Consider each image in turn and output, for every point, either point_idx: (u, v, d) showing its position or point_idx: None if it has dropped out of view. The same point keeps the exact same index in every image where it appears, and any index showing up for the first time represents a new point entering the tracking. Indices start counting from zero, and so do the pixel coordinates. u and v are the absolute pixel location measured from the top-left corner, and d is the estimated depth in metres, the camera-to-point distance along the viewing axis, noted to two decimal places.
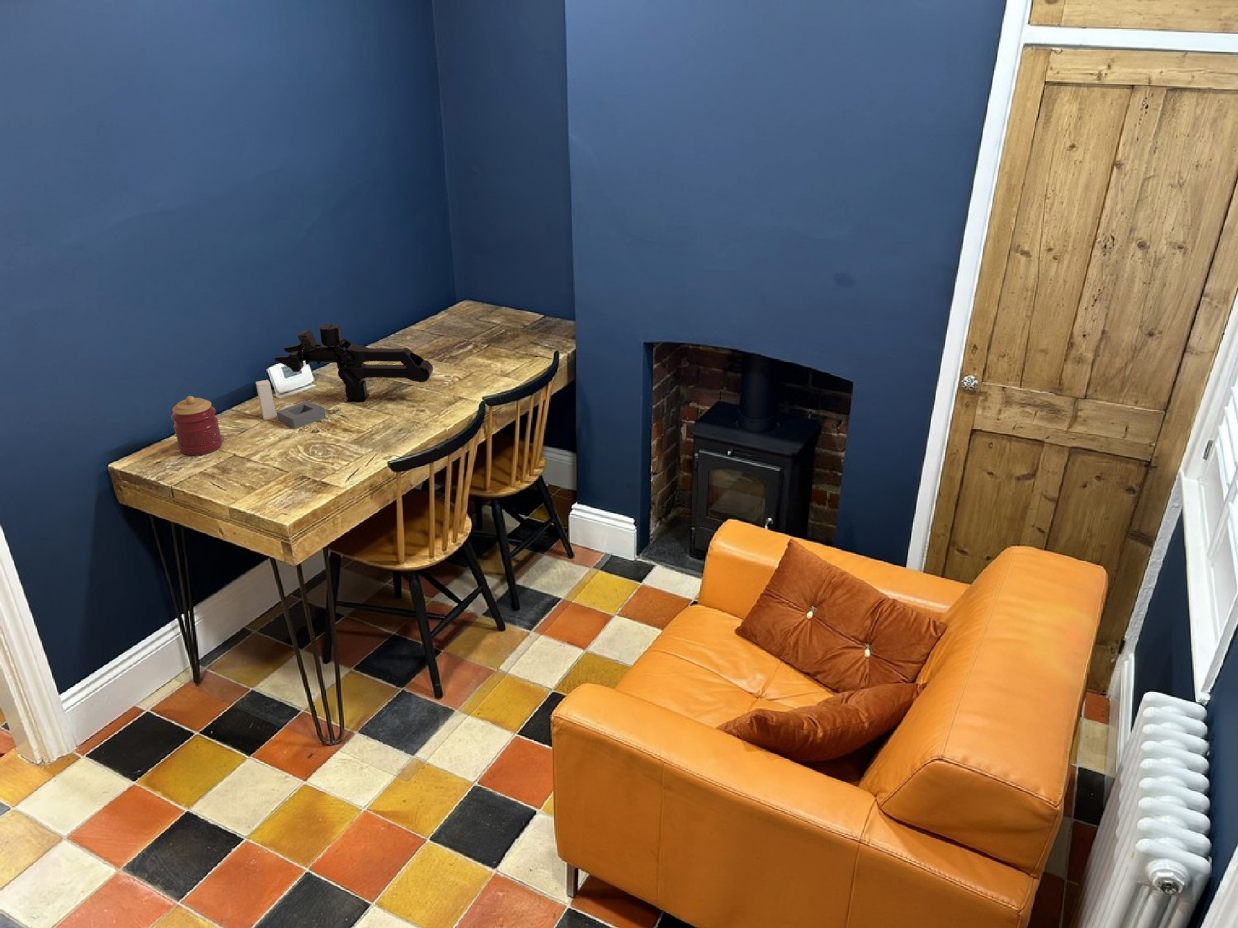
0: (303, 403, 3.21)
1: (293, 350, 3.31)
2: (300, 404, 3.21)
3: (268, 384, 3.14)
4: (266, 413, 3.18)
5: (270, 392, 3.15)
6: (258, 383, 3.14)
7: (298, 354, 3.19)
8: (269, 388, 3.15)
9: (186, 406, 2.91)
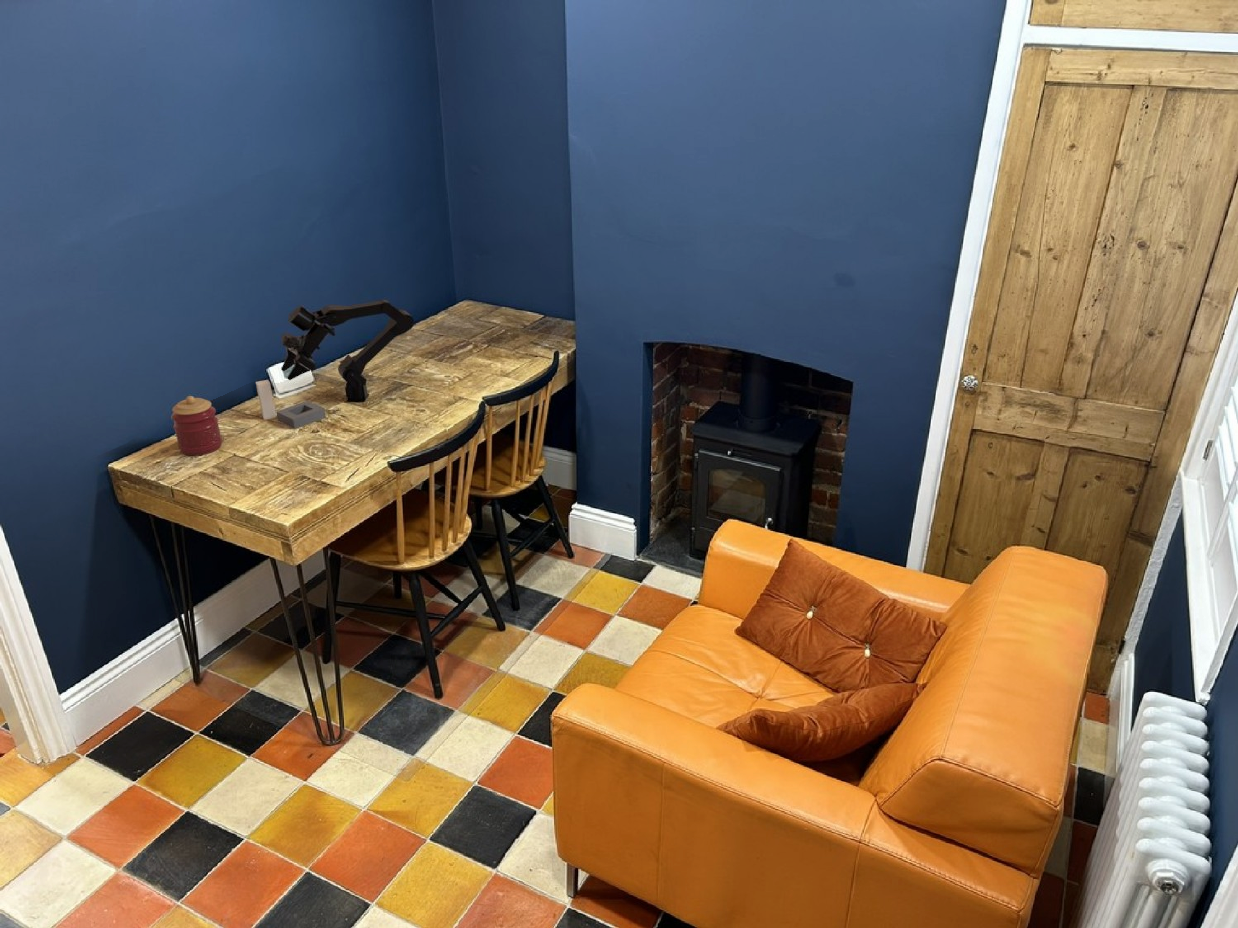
0: (303, 403, 3.21)
1: (289, 363, 3.21)
2: (300, 404, 3.21)
3: (268, 384, 3.14)
4: (266, 413, 3.18)
5: (270, 392, 3.15)
6: (258, 383, 3.14)
7: (300, 354, 3.10)
8: (269, 388, 3.15)
9: (186, 406, 2.91)
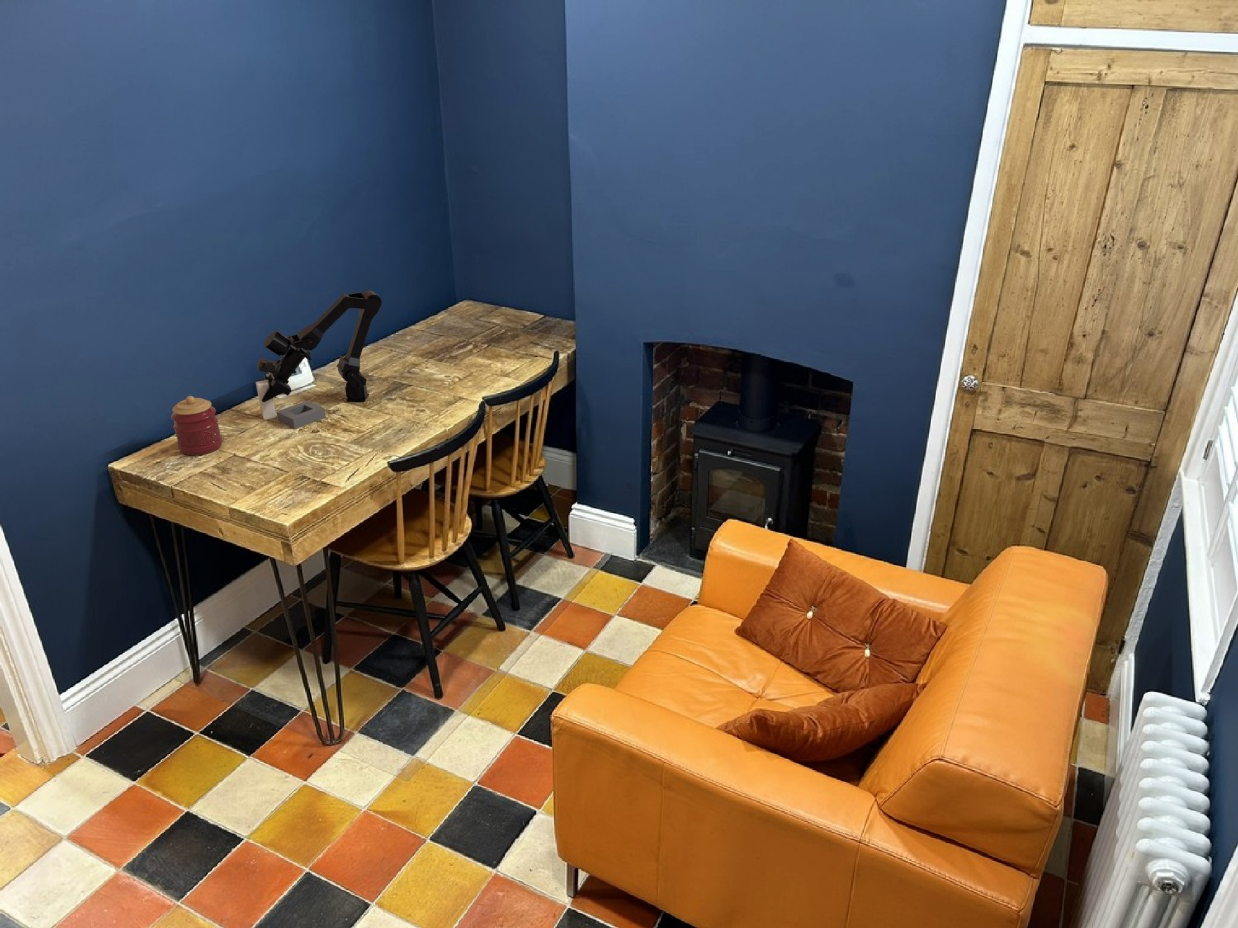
0: (303, 403, 3.21)
1: None
2: (300, 404, 3.21)
3: None
4: (266, 413, 3.18)
5: None
6: (258, 383, 3.14)
7: (276, 379, 3.09)
8: None
9: (186, 406, 2.91)
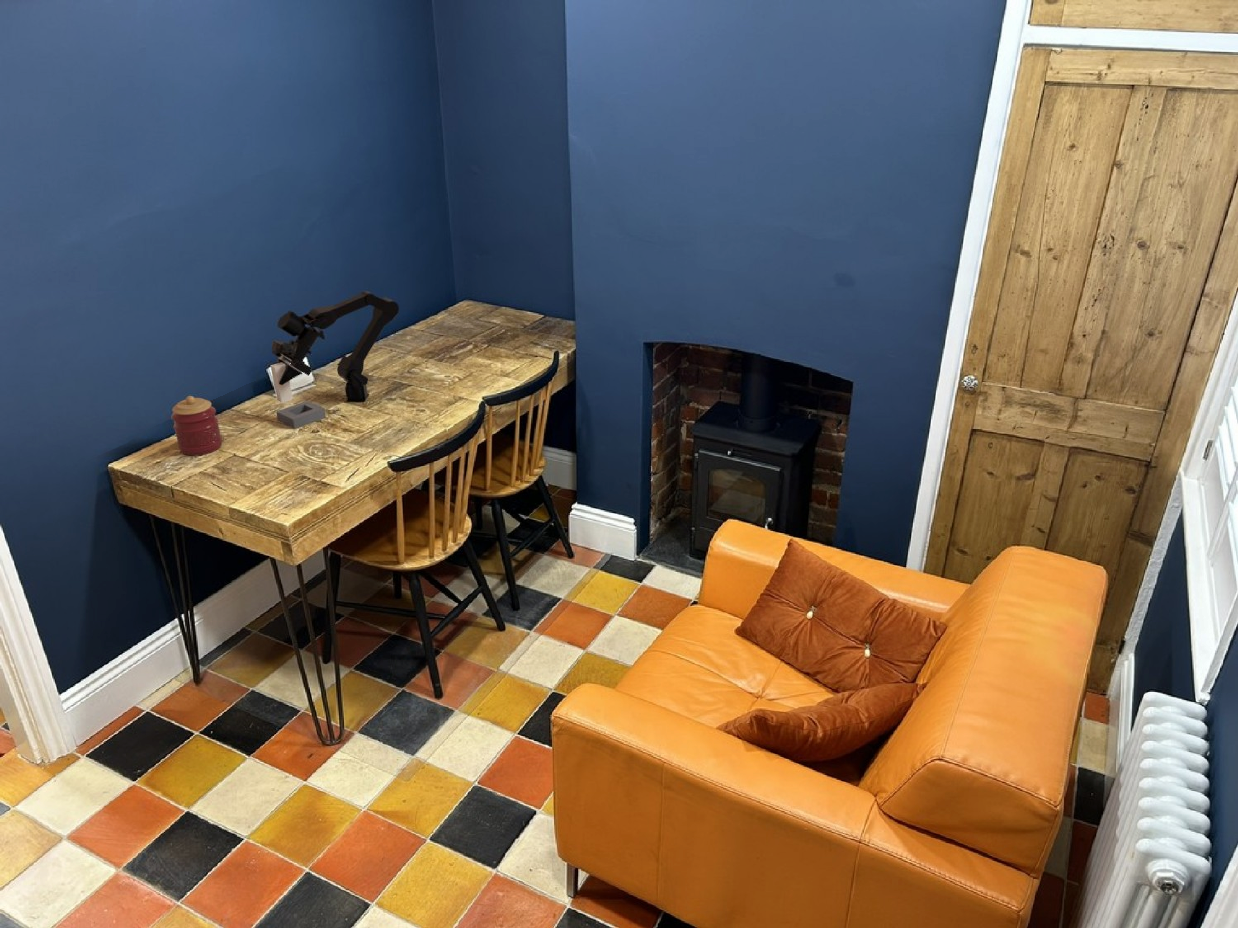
0: (303, 403, 3.21)
1: None
2: (300, 404, 3.21)
3: (284, 366, 3.09)
4: (283, 396, 3.13)
5: None
6: (274, 366, 3.09)
7: (296, 360, 3.05)
8: None
9: (186, 406, 2.91)
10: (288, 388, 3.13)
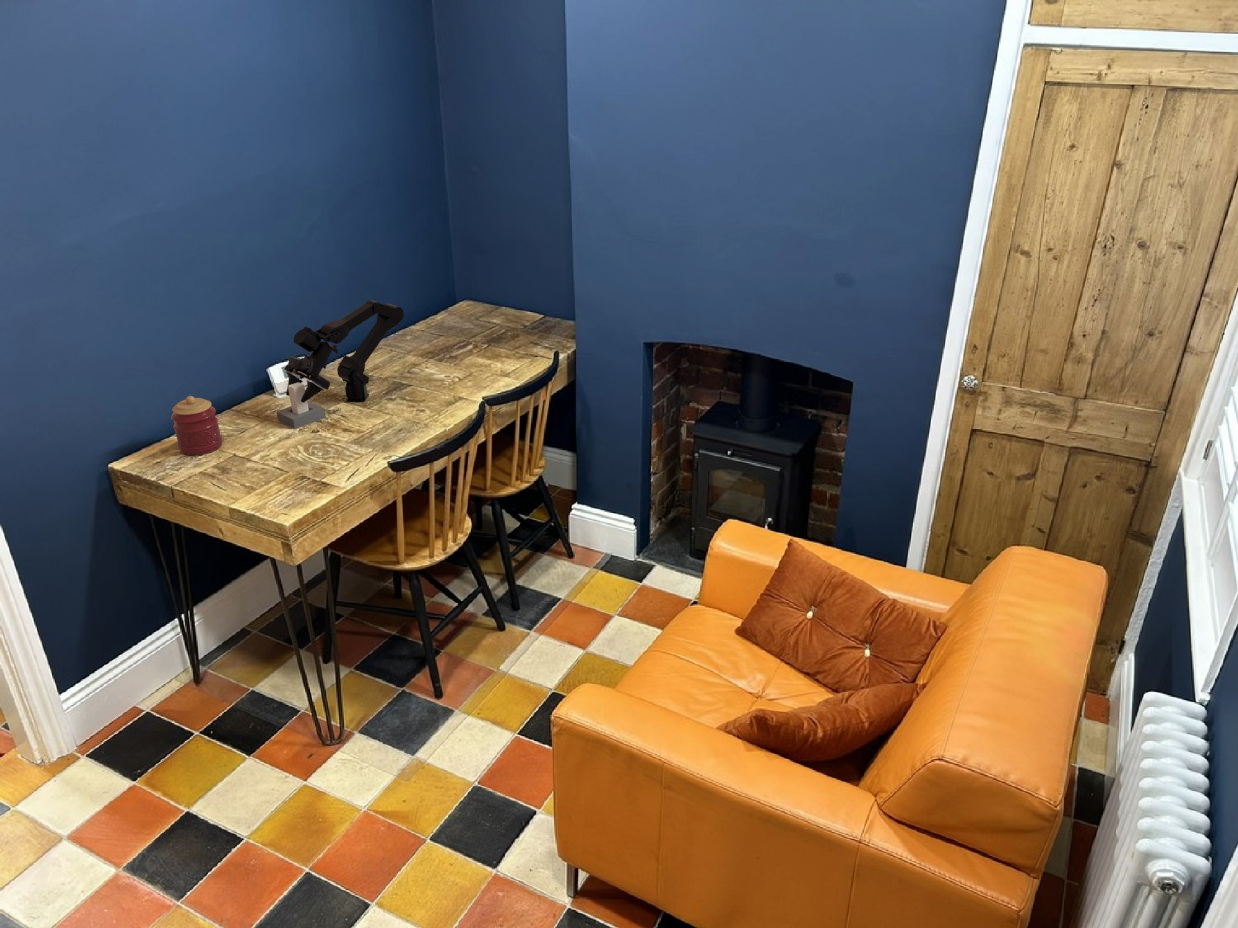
0: None
1: None
2: None
3: (302, 386, 3.13)
4: None
5: None
6: (292, 386, 3.11)
7: (315, 375, 3.09)
8: (303, 390, 3.13)
9: (186, 406, 2.91)
10: (306, 407, 3.16)
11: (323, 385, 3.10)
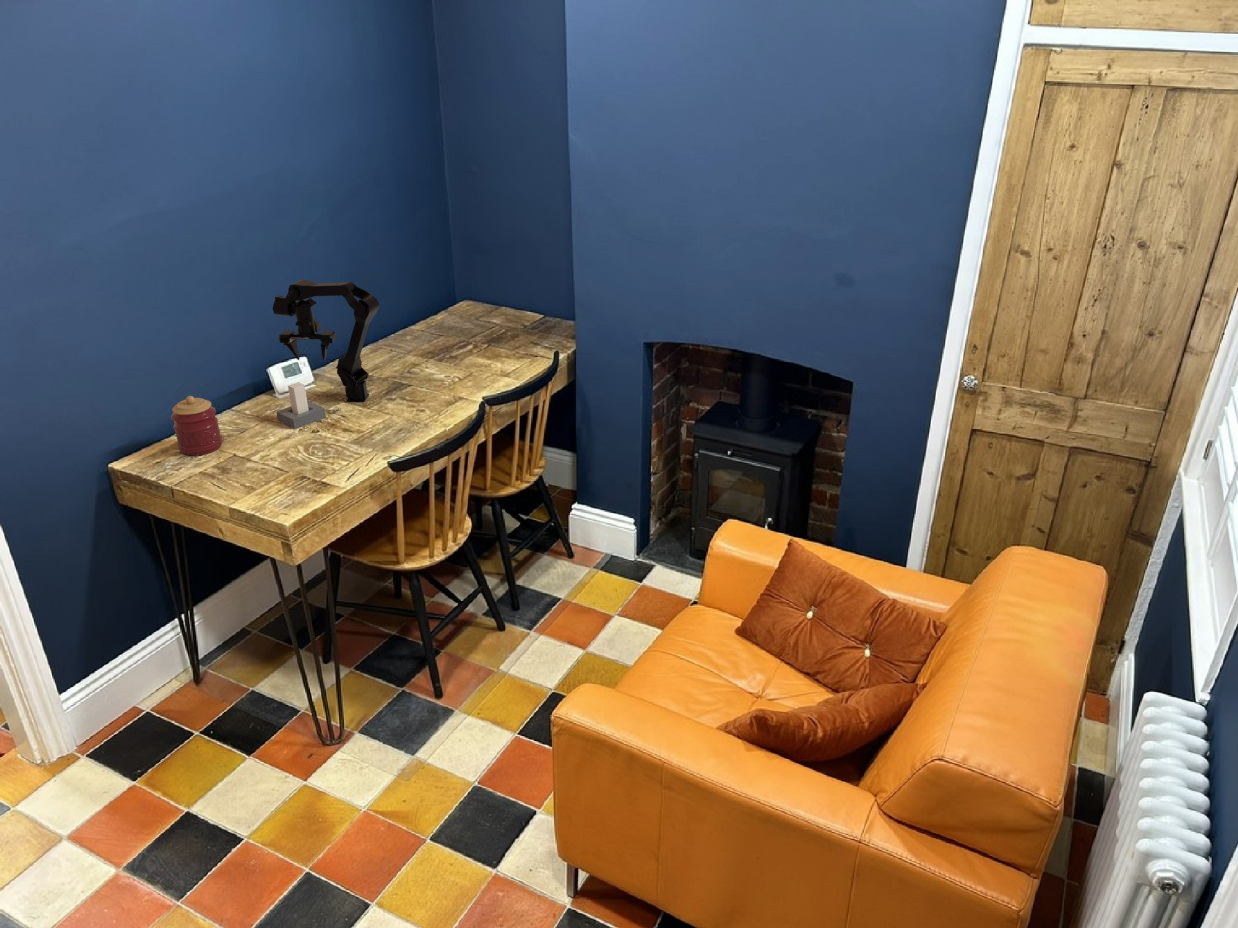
0: None
1: None
2: None
3: (303, 386, 3.13)
4: None
5: (304, 394, 3.14)
6: (292, 386, 3.11)
7: None
8: (303, 390, 3.13)
9: (186, 406, 2.91)
10: (306, 407, 3.16)
11: None
